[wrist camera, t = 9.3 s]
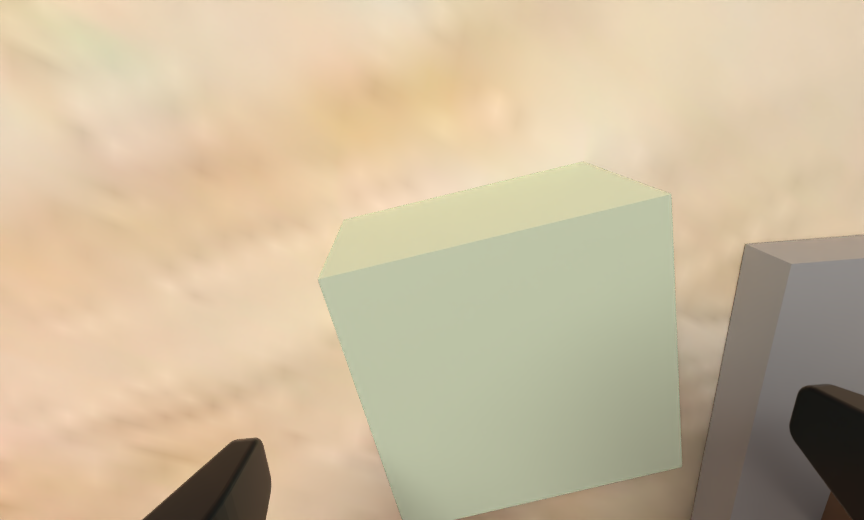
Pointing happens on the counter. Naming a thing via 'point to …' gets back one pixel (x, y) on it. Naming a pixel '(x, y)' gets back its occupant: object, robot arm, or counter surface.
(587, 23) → the counter surface
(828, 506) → the walnut block
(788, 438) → the plate
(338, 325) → the sage block
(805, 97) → the counter surface
